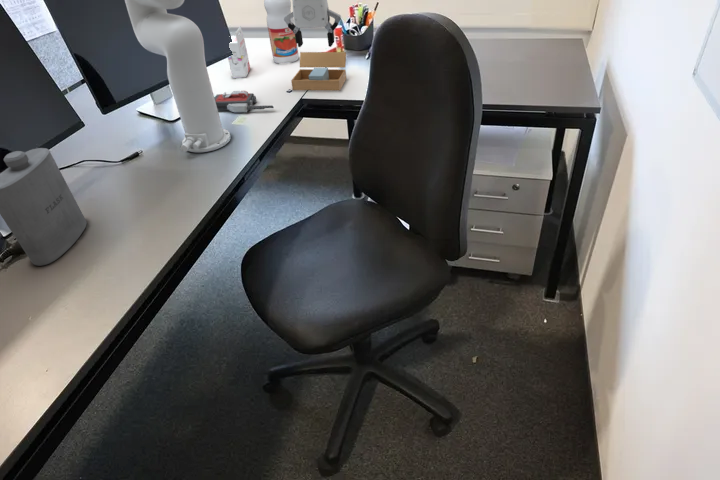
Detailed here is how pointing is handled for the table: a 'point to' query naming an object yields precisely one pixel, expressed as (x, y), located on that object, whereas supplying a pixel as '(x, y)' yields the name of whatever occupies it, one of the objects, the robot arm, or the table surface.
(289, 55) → the fruit juice
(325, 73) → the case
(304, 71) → the carton
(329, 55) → the flap
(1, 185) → the flask
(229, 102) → the toy chainsaw
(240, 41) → the ink cartridge box
